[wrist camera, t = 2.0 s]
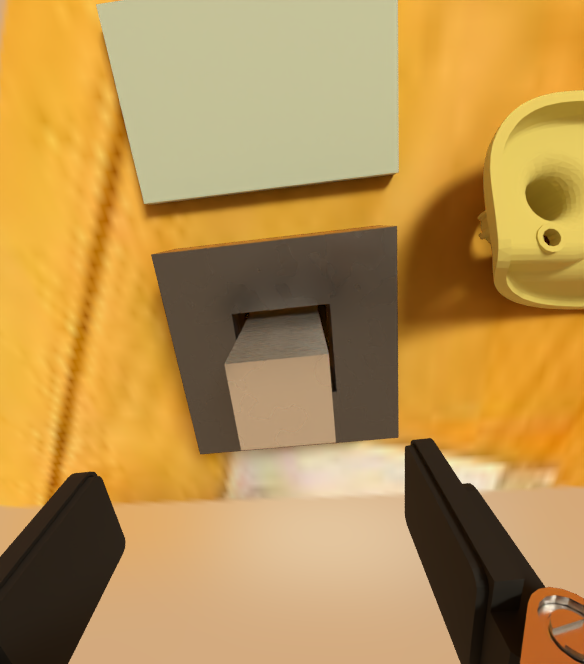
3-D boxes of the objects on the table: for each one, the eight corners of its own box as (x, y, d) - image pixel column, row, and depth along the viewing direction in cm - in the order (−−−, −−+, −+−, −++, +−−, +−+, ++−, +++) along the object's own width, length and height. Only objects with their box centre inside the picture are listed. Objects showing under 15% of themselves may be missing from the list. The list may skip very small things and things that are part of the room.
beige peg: (315, 300, 23) (328, 354, 14) (320, 358, 25) (335, 442, 15) (253, 307, 24) (224, 364, 14) (261, 364, 25) (241, 450, 16)
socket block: (379, 225, 22) (396, 226, 18) (383, 406, 26) (398, 437, 22) (175, 248, 22) (151, 254, 19) (213, 421, 27) (200, 454, 23)
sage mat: (391, -28, 18) (397, -43, 17) (393, 174, 21) (398, 172, 20) (106, 15, 18) (96, 4, 17) (150, 204, 21) (144, 203, 21)
